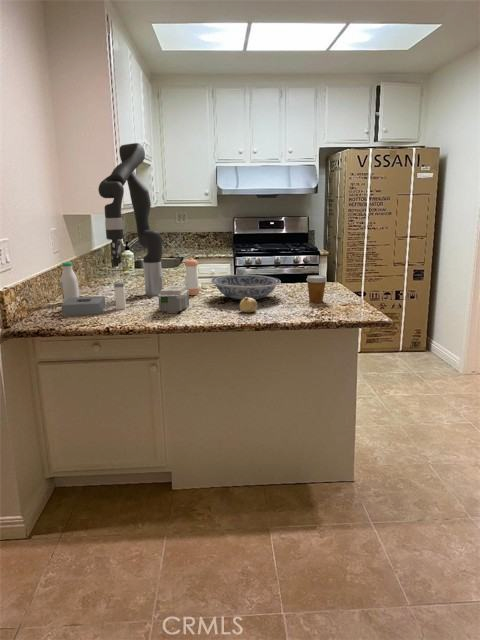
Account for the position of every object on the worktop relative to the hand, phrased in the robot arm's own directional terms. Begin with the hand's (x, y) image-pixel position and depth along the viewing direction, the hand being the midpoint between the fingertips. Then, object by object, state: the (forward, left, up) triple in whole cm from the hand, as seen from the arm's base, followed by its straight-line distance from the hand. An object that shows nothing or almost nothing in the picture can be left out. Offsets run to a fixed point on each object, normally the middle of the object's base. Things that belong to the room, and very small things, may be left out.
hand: (117, 264), depth 207 cm
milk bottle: (+26, -18, -21) cm, 38 cm away
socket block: (+16, +2, -20) cm, 26 cm away
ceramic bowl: (-60, -8, -21) cm, 64 cm away
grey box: (-25, +6, -21) cm, 33 cm away
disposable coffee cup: (-92, +5, -21) cm, 95 cm away
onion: (-57, +19, -21) cm, 64 cm away
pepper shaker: (-34, -25, -21) cm, 47 cm away
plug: (0, 0, -20) cm, 20 cm away
